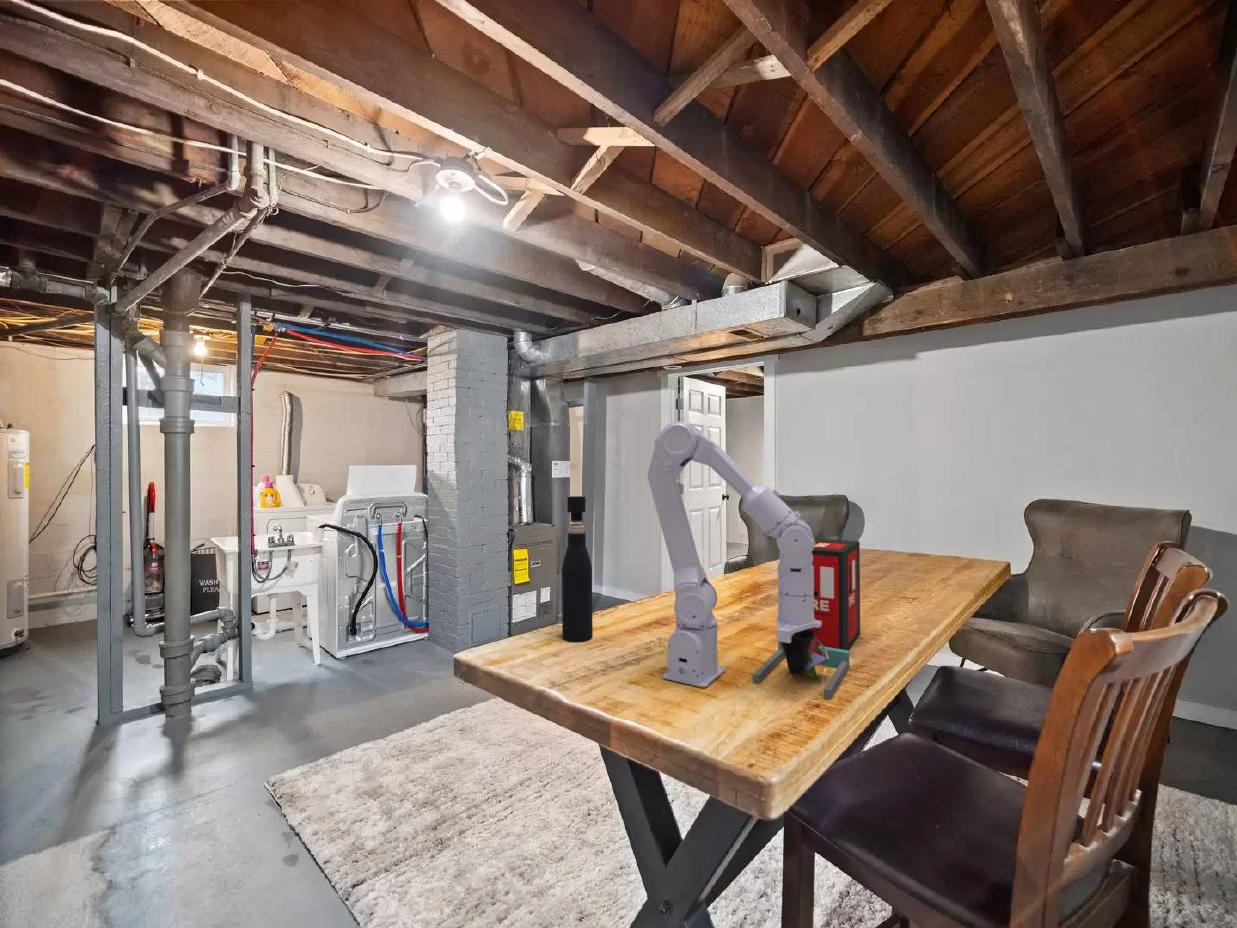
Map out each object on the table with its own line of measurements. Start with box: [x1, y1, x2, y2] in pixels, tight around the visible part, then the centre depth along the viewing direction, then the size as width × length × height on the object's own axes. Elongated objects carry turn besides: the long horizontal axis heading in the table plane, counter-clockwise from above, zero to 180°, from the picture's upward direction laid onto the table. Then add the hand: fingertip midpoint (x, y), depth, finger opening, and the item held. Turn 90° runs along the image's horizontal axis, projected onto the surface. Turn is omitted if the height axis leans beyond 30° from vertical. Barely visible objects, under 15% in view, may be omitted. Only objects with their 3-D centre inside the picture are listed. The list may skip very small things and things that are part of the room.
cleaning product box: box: [809, 538, 861, 651], centre depth 113 cm, size 16×9×20 cm, turn 146°
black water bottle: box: [561, 495, 593, 643], centre depth 117 cm, size 6×6×30 cm
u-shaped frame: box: [752, 641, 851, 701], centre depth 96 cm, size 16×12×3 cm
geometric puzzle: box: [783, 638, 829, 680], centre depth 95 cm, size 7×7×8 cm
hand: (796, 673), depth 92 cm, fingers closed
